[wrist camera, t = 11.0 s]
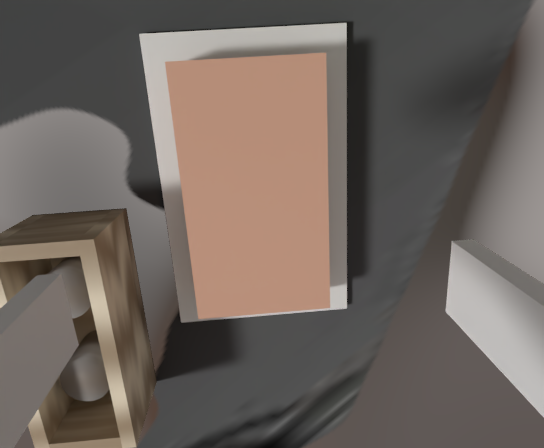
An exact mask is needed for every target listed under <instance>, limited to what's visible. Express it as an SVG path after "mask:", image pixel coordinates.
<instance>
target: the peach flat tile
mask: <svg viewBox="0 0 544 448" xmlns="http://www.w3.org/2000/svg"><path fill="white" fill-rule="evenodd" d="M165 67H166V74H167V82H168V90H169V97H170V105H171V113H172V120H173V128H174V136H175V143H176V151H177V159H178V167H179V174H180V182H181V190H182V197H183V205H184V213H185V220H186V228H187V236H188V243H189V251H190V259H191V267H192V274H193V282H194V290H195V297H196V305H197V313H198V319H207V318H218V317H230V316H242V315H253V314H265V313H277V312H289V311H300V310H312V309H324V308H330V264H329V199H328V135H327V70H326V53H310V54H293V55H275V56H257V57H240V58H222V59H205V60H187V61H169V62H165Z"/></svg>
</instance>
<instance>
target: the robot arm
mask: <svg viewBox="0 0 544 448" xmlns="http://www.w3.org/2000/svg"><path fill="white" fill-rule="evenodd" d="M446 312H447V314H448V315H449V316H450V317H451V318H452V319H453V320H454V321H455V322H456V323H457V324H458V325H459V326H460V327H461V329H462V330H463V331H464V332H465V333H466V334H467V335H468V336H469V337H470V338H471V339H472V341H473V342H474V343H475V344H477V346H478V347H479V348H480V349H481V350H482V351H483V352H484V353H485V355H486V356H487V357H488V358H489V359H490V360H491V361H492V362H493V363H494V364H495V365H496V366H497V367H498V368H499V370H500V371H501V372H502V373H503V374H504V375H505V376H506V377H507V378H508V379H509V380H510V381H511V383H513V385H515V387H516V388H517V389H518V390H519V391H520V392H521V393H522V394H523V395H524V397H525V398H526V399H527V400H528V401H529V402H530V403H531V404H532V405H533V406H534V407H535V408H536V410H537V411H538V412H539V413H540V414H541V415H542V416H543V417H544V284H543V283H541V282H540V281H538V280H537V279H535V278H533V277H532V276H530V275H529V274H527V273H525V272H524V271H522V270H521V269H519V268H518V267H516V266H515V265H513V264H511V263H510V262H508V261H507V260H505V259H504V258H502V257H501V256H499V255H497V254H496V253H494V252H493V251H491V250H489V249H488V248H486V247H485V246H483V245H482V244H480V243H479V242H477V241H475V240H474V239H472V240H460V241H452V247H451V259H450V270H449V280H448V291H447V302H446ZM78 346H79V344H78V340H77V336H76V332H75V328H74V324H73V320H72V316H71V312H70V308H69V303H68V299H67V295H66V291H65V287H64V283H63V279H62V275H61V273H59V274H46V275H37V276H36V277H35V278H33V279H32V280H31V281H30V282H29V283H28V284H27V285H26V286H25V287H23V288H22V289H21V290H20V291H19V292H18V293H17V294H16V295H15V296H14V297H12V298H11V299H10V300H9V301H8V302H7V303H6V304H5V305H4V306H3V307H1V308H0V448H14V446H15V445H16V443H17V442H18V440H19V438H20V437H21V435H22V434H23V432H24V430H25V429H26V427H27V426H28V424H29V423H30V421H31V420H32V418H33V416H34V415H35V413H36V412H37V410H38V409H39V407H40V405H41V404H42V402H43V401H44V399H45V398H46V396H47V394H48V393H49V391H50V390H51V388H52V387H53V385H54V383H55V382H56V380H57V379H58V377H59V375H60V374H61V372H62V371H63V369H64V368H65V366H66V364H67V363H68V361H69V360H70V358H71V357H72V355H73V353H74V352H75V350H76V349H77V347H78Z"/></svg>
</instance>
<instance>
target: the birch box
mask: <svg viewBox="0 0 544 448" xmlns="http://www.w3.org/2000/svg"><path fill="white" fill-rule="evenodd" d="M59 273H61V275H62V279H63V283H64V287H65V291H66V295H67V299H68V303H69V308H70V312H71V316H72V320H73V324H74V328H75V332H76V336H77V340H78V344H79V346H78V347H77V349H76V350H75V352H74V353H73V355H72V357H71V358H70V360H69V361H68V363H67V364H66V366H65V368H64V369H63V371H62V372H61V374H60V375H59V377H58V379H57V380H56V382H55V383H54V385H53V387H52V388H51V390H50V391H49V393H48V394H47V396H46V398H45V399H44V401H43V402H42V404H41V405H40V407H39V409H38V410H37V412H36V413H35V415H34V416H33V418H32V420H31V421H30V423H29V424H28V427H29V430H30V434H31V437H32V440H33V443H34V446H35V448H132V447H137V444H138V441H139V437H140V434H141V431H142V427H143V424H144V421H145V418H146V415H147V411H148V408H149V405H150V402H151V398H152V395H153V392H154V389H155V385H156V382H157V381H156V375H155V370H154V364H153V358H152V353H151V347H150V341H149V335H148V330H147V325H146V318H145V313H144V308H143V302H142V296H141V290H140V285H139V279H138V273H137V267H136V262H135V256H134V250H133V245H132V239H131V234H130V228H129V222H128V216H127V210H126V208H125V209H111V210H97V211H83V212H69V213H56V214H42V215H32V216H31V217H29V218H27V219H25V220H23V221H22V222H20V223H18V224H16V225H14V226H13V227H11V228H9V229H7V230H6V231H4V232H2V233H0V308H1V307H3V306H4V305H5V304H6V303H7V302H8V301H9V300H10V299H11V298H12V297H14V296H15V295H16V294H17V293H18V292H19V291H20V290H21V289H22V288H23V287H25V286H26V285H27V284H28V283H29V282H30V281H31V280H32V279H33V278H35V277H36V276H37V275H46V274H59Z"/></svg>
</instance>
